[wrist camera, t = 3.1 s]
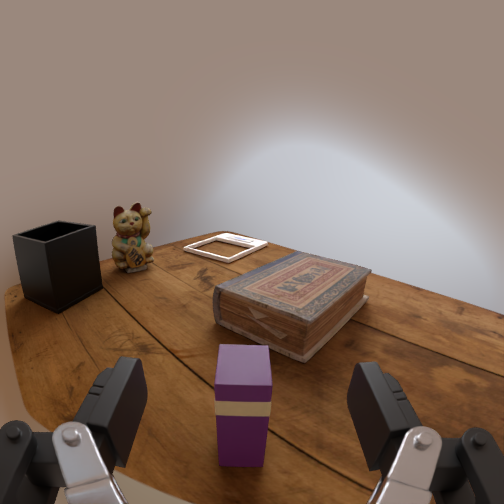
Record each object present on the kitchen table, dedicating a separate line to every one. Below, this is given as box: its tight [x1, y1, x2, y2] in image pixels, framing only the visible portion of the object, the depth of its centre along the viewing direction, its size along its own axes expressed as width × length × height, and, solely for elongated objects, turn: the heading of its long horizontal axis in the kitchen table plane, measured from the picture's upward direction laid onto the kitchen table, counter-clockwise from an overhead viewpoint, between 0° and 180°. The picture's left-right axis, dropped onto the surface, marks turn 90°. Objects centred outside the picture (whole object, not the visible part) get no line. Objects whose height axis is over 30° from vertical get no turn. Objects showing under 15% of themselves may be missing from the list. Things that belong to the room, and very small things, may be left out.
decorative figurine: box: [112, 202, 154, 273], centre depth 67 cm, size 10×8×15 cm
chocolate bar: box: [214, 344, 273, 467], centre depth 25 cm, size 5×4×11 cm
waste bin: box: [13, 221, 103, 314], centre depth 52 cm, size 12×12×13 cm
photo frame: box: [184, 233, 268, 263], centre depth 85 cm, size 15×1×18 cm
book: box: [213, 251, 371, 363], centre depth 52 cm, size 17×7×25 cm
